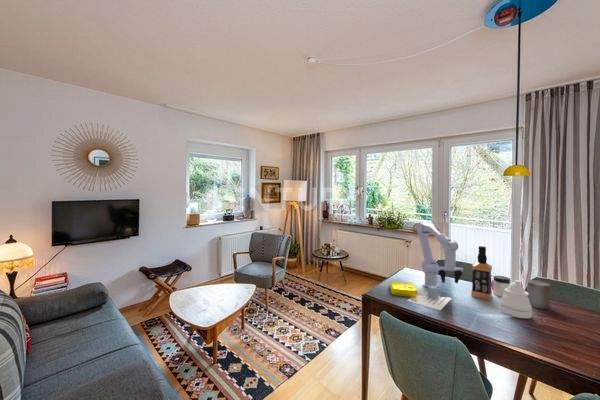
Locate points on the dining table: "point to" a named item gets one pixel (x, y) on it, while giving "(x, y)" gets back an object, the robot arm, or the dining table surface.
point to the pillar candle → (539, 294)
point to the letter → (430, 301)
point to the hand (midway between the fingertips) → (449, 282)
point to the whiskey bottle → (481, 277)
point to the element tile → (403, 289)
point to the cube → (433, 292)
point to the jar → (500, 285)
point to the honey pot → (516, 301)
